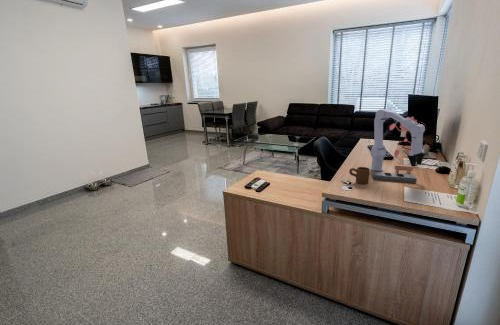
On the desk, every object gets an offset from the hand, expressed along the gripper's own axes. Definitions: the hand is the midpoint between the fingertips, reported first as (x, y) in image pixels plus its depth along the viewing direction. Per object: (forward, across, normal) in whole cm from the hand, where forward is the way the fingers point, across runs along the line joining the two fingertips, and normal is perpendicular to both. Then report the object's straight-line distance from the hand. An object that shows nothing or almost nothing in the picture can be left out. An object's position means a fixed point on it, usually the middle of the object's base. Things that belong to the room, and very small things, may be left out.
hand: (416, 165), depth 159 cm
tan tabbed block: (+9, +6, +11) cm, 15 cm away
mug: (+9, -29, +21) cm, 37 cm away
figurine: (+6, +52, +32) cm, 61 cm away
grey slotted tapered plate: (+9, -7, +10) cm, 15 cm away
